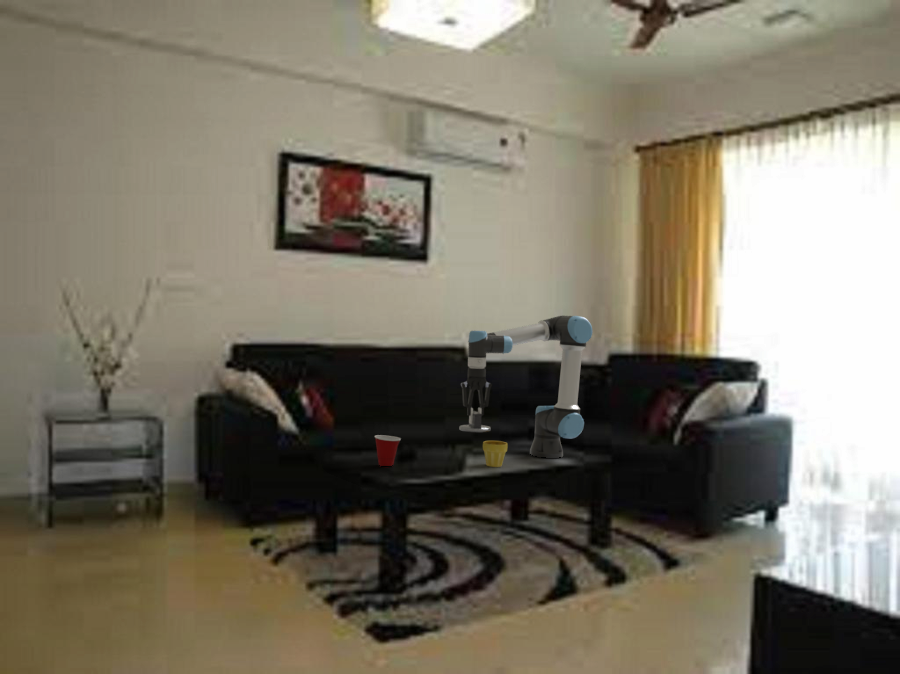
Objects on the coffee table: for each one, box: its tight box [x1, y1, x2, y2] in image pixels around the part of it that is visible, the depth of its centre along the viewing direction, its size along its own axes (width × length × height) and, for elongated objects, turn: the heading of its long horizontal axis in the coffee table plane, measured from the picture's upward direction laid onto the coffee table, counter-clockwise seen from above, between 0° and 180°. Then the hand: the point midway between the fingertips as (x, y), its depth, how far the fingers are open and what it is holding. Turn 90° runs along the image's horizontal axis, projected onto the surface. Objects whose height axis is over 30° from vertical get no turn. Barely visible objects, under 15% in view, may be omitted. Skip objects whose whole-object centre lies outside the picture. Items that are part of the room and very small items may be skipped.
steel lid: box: [458, 410, 491, 433], centre depth 336 cm, size 13×13×7 cm
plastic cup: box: [374, 434, 402, 467], centre depth 326 cm, size 11×11×12 cm
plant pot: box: [482, 440, 509, 468], centre depth 338 cm, size 10×10×10 cm
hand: (475, 423), depth 336 cm, fingers closed on steel lid, 3 cm apart
